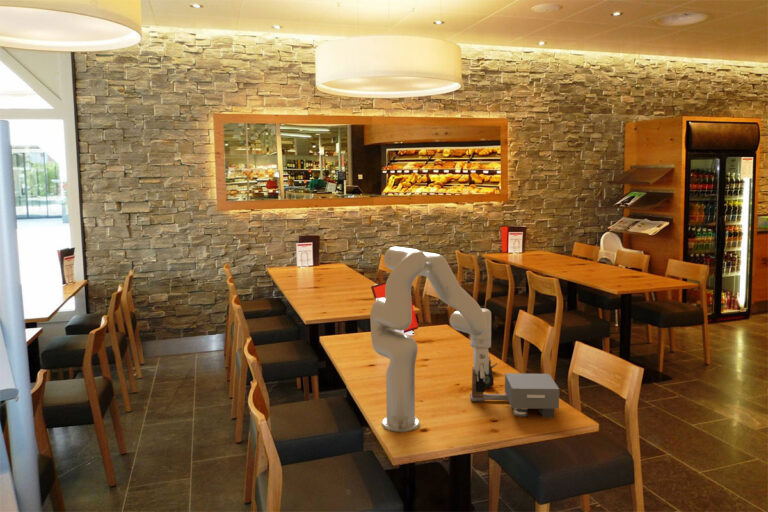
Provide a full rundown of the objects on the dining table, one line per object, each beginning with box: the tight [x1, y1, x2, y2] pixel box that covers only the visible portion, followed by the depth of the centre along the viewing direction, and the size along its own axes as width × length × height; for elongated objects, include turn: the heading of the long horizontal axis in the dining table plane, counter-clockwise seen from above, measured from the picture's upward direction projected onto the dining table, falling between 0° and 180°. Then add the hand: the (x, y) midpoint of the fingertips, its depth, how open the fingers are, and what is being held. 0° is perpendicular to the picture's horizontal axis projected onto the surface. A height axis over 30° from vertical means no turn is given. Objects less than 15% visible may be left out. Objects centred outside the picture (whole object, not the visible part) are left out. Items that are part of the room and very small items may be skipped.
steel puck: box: [512, 408, 529, 418], centre depth 209 cm, size 5×5×2 cm
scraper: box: [469, 366, 509, 402], centre depth 221 cm, size 4×20×12 cm, turn 87°
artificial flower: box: [485, 356, 498, 389], centre depth 246 cm, size 9×22×10 cm, turn 161°
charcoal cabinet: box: [504, 372, 560, 418], centre depth 211 cm, size 17×16×11 cm
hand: (479, 389), depth 222 cm, fingers closed on scraper, 2 cm apart
